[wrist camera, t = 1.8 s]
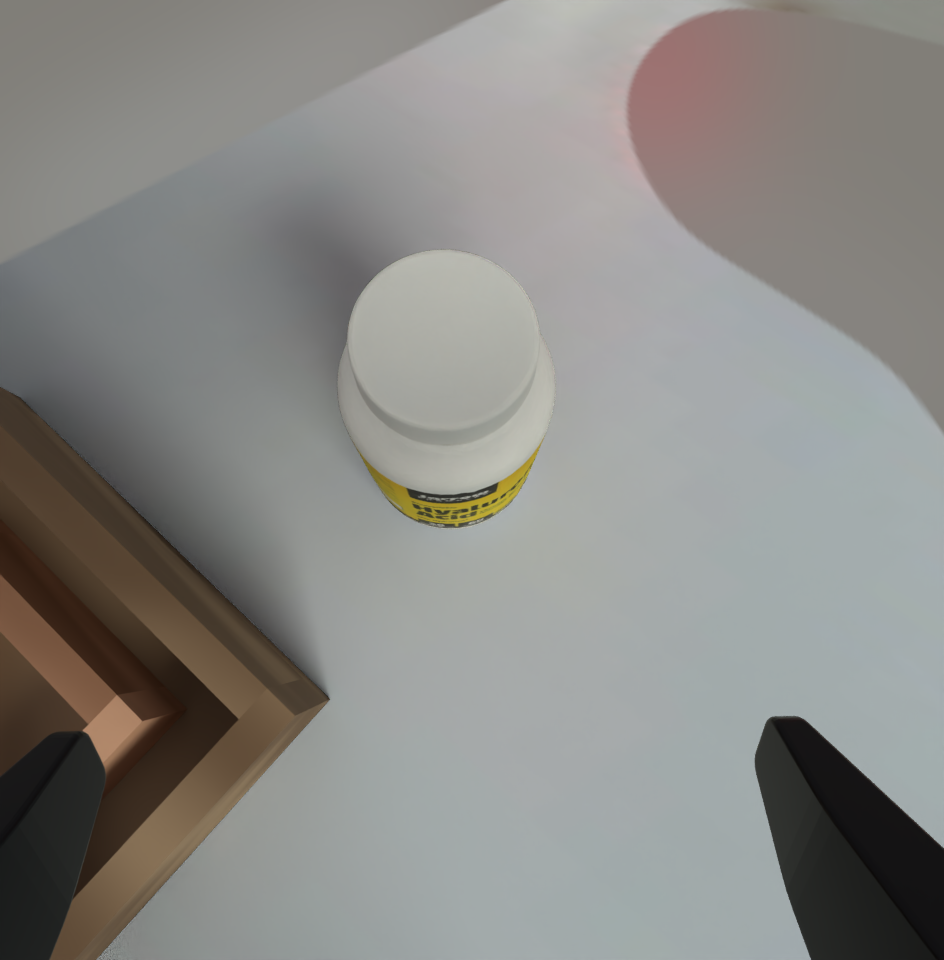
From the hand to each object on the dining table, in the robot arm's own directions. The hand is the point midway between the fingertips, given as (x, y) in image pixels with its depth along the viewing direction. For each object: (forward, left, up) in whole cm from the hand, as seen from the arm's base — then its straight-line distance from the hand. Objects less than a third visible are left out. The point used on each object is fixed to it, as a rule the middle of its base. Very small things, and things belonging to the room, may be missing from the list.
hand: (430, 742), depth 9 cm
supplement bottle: (+5, +5, -13) cm, 15 cm away
